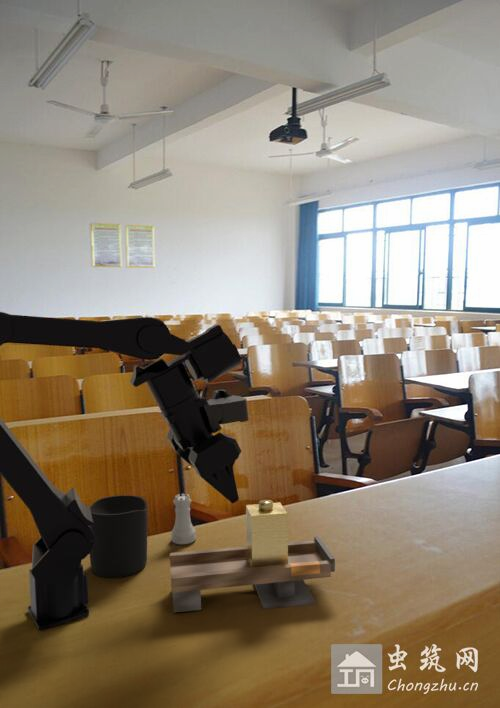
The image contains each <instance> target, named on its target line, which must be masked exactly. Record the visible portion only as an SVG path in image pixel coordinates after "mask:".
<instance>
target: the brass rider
mask: <svg viewBox="0 0 500 708" xmlns="http://www.w3.org/2000/svg"><path fill="white" fill-rule="evenodd" d="M245 521H246V526H245V527H246V546H247V560H248V563H249V565H250V568H252V567H263V566H274V565H284V564H288V543H289V542H288V541H289V540H288V537H289V536H288V534H289V533H288V512H287V511H286V510H285V508H284V507H283V505H282V503H281V502H280V501H279V502H274V501H273V500H271V499H261V500H259V501H258V504H257V503H256V504H246V505H245Z"/></svg>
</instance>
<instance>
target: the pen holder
mask: <svg viewBox="0 0 500 708" xmlns="http://www.w3.org/2000/svg"><path fill="white" fill-rule="evenodd" d="M90 511H91V515H92V519H93V525H92V529H93V534H94V545H93V548H92V550H91V552H90V553H89V554H88V555H89V564H90V569H91V571H92V573H94V574H95V575H96V576H99V577H102V578H108V579H110V578H111V579H115V578H123V577H128V576H132V575H134V574H137V573H139V572H140V571H142V570H143V569H144V567H145V566H146V564H147V563H148V561H147V560H148V503H147V500H146V499H145V498H143V497H141V496H138V495H130V494H129V495H128V494H123V495H122V494H121V495H110V496H105V497H101V498H99V499H97V500H96V501H95V502H92V504H91V506H90Z"/></svg>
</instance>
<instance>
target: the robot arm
mask: <svg viewBox="0 0 500 708" xmlns="http://www.w3.org/2000/svg"><path fill="white" fill-rule="evenodd" d="M7 343H8V344H22V345H23V344H24V345H25V344H26V345H39V346H41V345H42V346H58V347H71V348H72V347H74V348H85V349H86V348H87V349H99V350H104V351H108V352H113V353H116V354H120V355H125V356H129V357H132V358H137V359H142V360H146V361H154V360H155V361H154V362H152V363H150V364H147V365H146V366H144V367H141V366H139V365H133V371H132V372H133V373H132V375H131V378H130V380H129V384H130V385H132V386H133V387H135V388H136V387H139V386H141V385H143V384H145V383H146V384H147V387H148V388H149V391H150V393H151V394H152V396H153V398H154V400H155V402H156V404H157V406H158V408H159V410H160V413H159V414H160V416H161V417H162V419H163V420H164V421H165V422H166V424H167V425H168V427H169V430H168V433H167V436H166V439H167V440H168V442H169V444H170V446H171V448H172V449H173V450H174V451H175V453H176V454H178V455H179V457H180V458H182V459H183V460H184V461H185V462H187V463H188V465H190V466H191V467H192V468H193V469H194V471H195V473H197V475H198V476H199V477H200V478H201V479H203V480H204V481H205V482H206V483H207V484H209V485H210V486H211V487H212V488H213V489H214V490H215V491H217V492H218V493H219V494H221V495H222V496H223V497H224V498H225V499H226V500H227V501H229V502H230V503H231V504H235V503H236V502H238V501H239V499H240V498H239V492H238V486H237V483H236V478H235V473H234V465H235V463H236V461H237V460H238V459H239V458H240V454H241V453H242V449H241V447H240V446H239V443H238V441H237V439H236V438H234V437H232V436H231V435H229V434H226V433H223V432H220V431H221V430H222V426H221V425H227V424H231V423H236V422H237V423H238V422H240V423H245V422H248V421H249V411H248V410H249V409H248V403H247V398H246V397H243V396H240V395H234V394H232V395H229V393H228V392H227V390H225V389H218V390H214V391H213V392H212V395H211V398H209V399H208V400H207V398H206V397H203V396H201V395H199V392H198V390H197V389H196V386H195V385H194V382H193V380H192V379H191V377H190V375H191V376H192V378H194V380H195V381H199V380H202V381H203V382H205V384H209V383H211V382H212V381H214V380H216V379H217V378H219V377H221V376H222V375H226V373H228V372H230V371H232V370H234V369H235V368H237V367H239V366H241V364H242V359H241V355H240V352H239V350H238V348H237V346H236V344H234V343H233V342H232V340H231V339H230V337H229V336H228V335H227V333H225V332H224V330H223V329H222V326H221V325H219V324H214V325H212V326H210V327H208V328H207V329H206V330H204V331H203V332H202V333H199V334H198V335H196V336H194V337H192V338H190V339H187V340H186V339H185V338H184V337H179V336H177V335H175V334H172V332H170V329H169V327H168V326H167V324H166V323H165V322H164V321H163V320H161V319H159V318H157V317H153V316H144V317H142V316H141V317H132V318H131V317H130V318H123V319H122V318H120V319H111V320H109V319H108V320H100V321H97V320H86V319H85V320H84V319H75V318H74V319H71V318H61V317H60V318H58V317H45V316H36V315H35V316H34V315H21V314H20V315H19V314H10V313H6V312H5V311H4V312H3V311H0V347H1V346H3V345H4V344H7ZM164 355H174V356H177V357H175V358H173V359H170V360H169V361H165V360H164V359H163V358H161V357H163V356H164ZM184 362H185V364H184ZM185 365H186V367H185ZM186 368H187V369H188V370H187V369H186ZM188 371H189V373H190V375H189V373H188ZM215 433H216V434H215ZM0 475H1V476H2V478H3V479H4V480H5V481H6V482H7V484H8V485H9V486H10V487H11V489H12V490H13V491H14V493H16V495H17V496H18V497H19V498H20V500H21V501H22V503H23V504H24V505H25V506H26V508H27V509H28V510H29V512H30V514H31V516H32V518H33V521H34V524H35V526H36V529H37V532H38V534H39V536H40V537H39V538H38V539H37V540H36V541H35V543H34V544H33V546H32V557H31V558H32V560H31V569H29V572H28V573H29V590H30V591H29V592H30V605H29V606H28V607H27V612H28V613H29V615H30V617H31V619H32V620H33V622H34V623H35V625H36V627H37V629H38V630H40V631H42V630H47V629H50V628H52V627H56V626H60V625H62V624H65V623H69V622H71V621H74V620H77V619H81V618H83V617H87V616H89V615H90V610H89V608H88V607H87V605H88V604H89V603H90V601H89V583H88V582H89V581H88V575H87V574H86V572H85V571H84V565H83V564H82V560H84V559H86V558H87V556H88V555H90V554H89V553H90V552H91V550H92V548H93V545H94V534H93V529H92V525H93V519H92V515H91V511H90V507H91V506H90V507H89V506H88V505H86V504H85V503H84V502H83V501H82V500H81V499H80V497H79V495H78V493H77V491H76V489H75V488H74V487H71V488H70V489H69V490H68V491H67V493H64V492H63V491H62V490H60V489H58V488H57V487H56V486H54V484H53V483H52V482H51V481H50V479H49V478H48V477H47V476H46V474H45V473H44V472H43V470H42V469H41V467H40V466H39V465H38V464H37V463H36V461H35V460H34V459H33V458H32V456H31V455H30V454H29V452H28V451H27V449H25V447H24V446H23V444H22V443H21V442H20V441H19V439H18V438H17V436H15V434H14V433H13V432H12V431H11V429H10V428H9V427H8V425H7V424H6V423H5V421H4V420H3V419H2V417H0Z"/></svg>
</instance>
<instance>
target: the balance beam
mask: <svg viewBox="0 0 500 708" xmlns="http://www.w3.org/2000/svg"><path fill="white" fill-rule="evenodd" d="M169 565H170V586H171V594H172V603H173V604H172V605H173V613H182V612H191V611H193V612H194V611H200V610H202V601H201V600H202V595H201V594H202V593H201V592H202V591H205V590H212V589H213V590H214V589H222V588H233V587H242V586H254V587H255V590H256V592H257V596H258V599H259V602H260V603H261V607H262V609H263V610H269V609H278V608H279V609H280V608H286V607H297V606H306V605H314V604H315V599H314V596H313V595H312V593H311V591H310V590H309V587H308V586H307V585H306V582H305V581H304V580H313V579H323V578H331V577H332V575H331V574H332V572H333V573H334V572H335V571H336V559H335V557H334V556H333V554H332V552H331V551H330V550H329V549H328V547H327V546H326V544H325V543H324V542H323V541H322V539H321V538H320V536H319V535H314V537H313V540H303V541H301V540H300V541H290V542H288V564H284V565H274V566H263V567H252V568H250V565H249V563H248V560H247V545H245V546H235V547H234V546H233V547H224V548H213V549H212V548H211V549H200V550H199V549H198V550H189V551H187V550H186V551H178V552H176V551H175V552H170V553H169Z"/></svg>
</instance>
